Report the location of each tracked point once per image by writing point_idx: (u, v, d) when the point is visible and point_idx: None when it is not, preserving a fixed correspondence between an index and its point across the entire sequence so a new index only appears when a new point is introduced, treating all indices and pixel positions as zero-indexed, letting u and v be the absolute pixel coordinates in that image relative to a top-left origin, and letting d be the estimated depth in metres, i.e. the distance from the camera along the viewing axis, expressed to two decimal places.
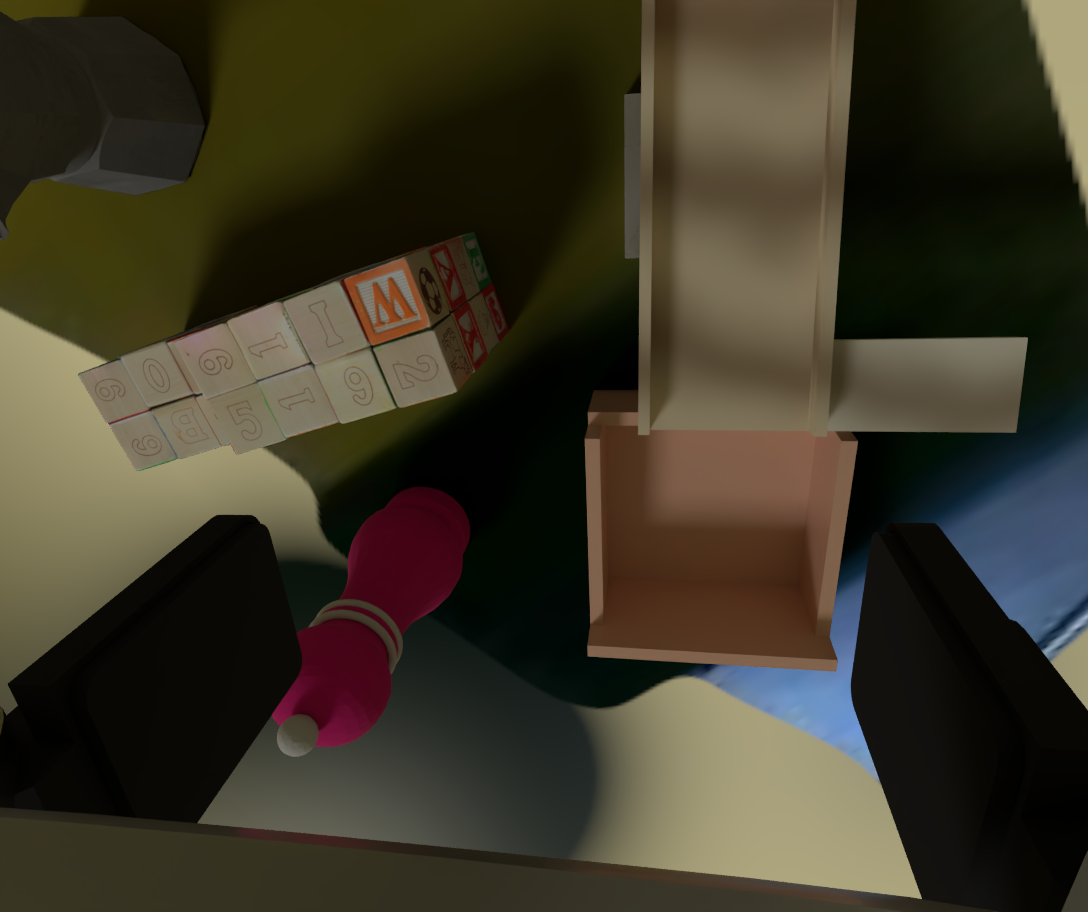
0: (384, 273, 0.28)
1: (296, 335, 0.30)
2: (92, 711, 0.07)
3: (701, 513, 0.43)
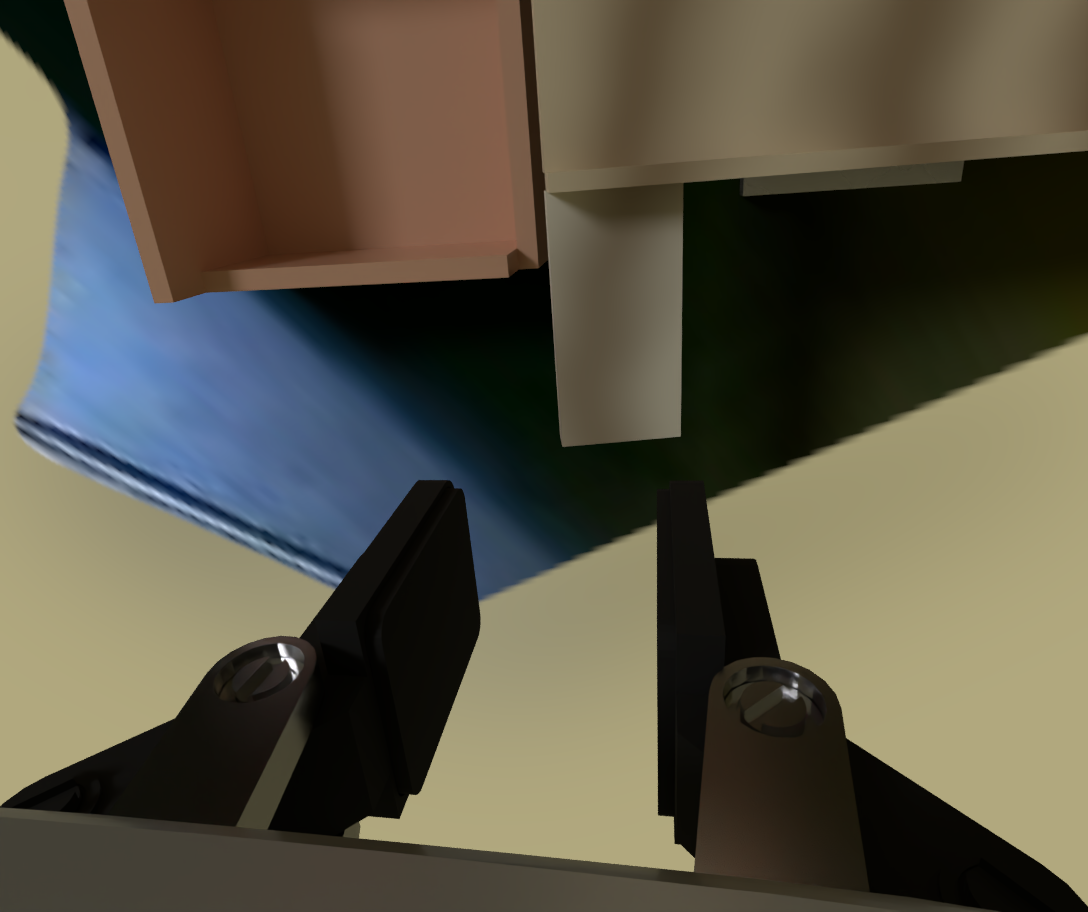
0: None
1: None
2: (381, 647, 0.08)
3: (346, 89, 0.28)
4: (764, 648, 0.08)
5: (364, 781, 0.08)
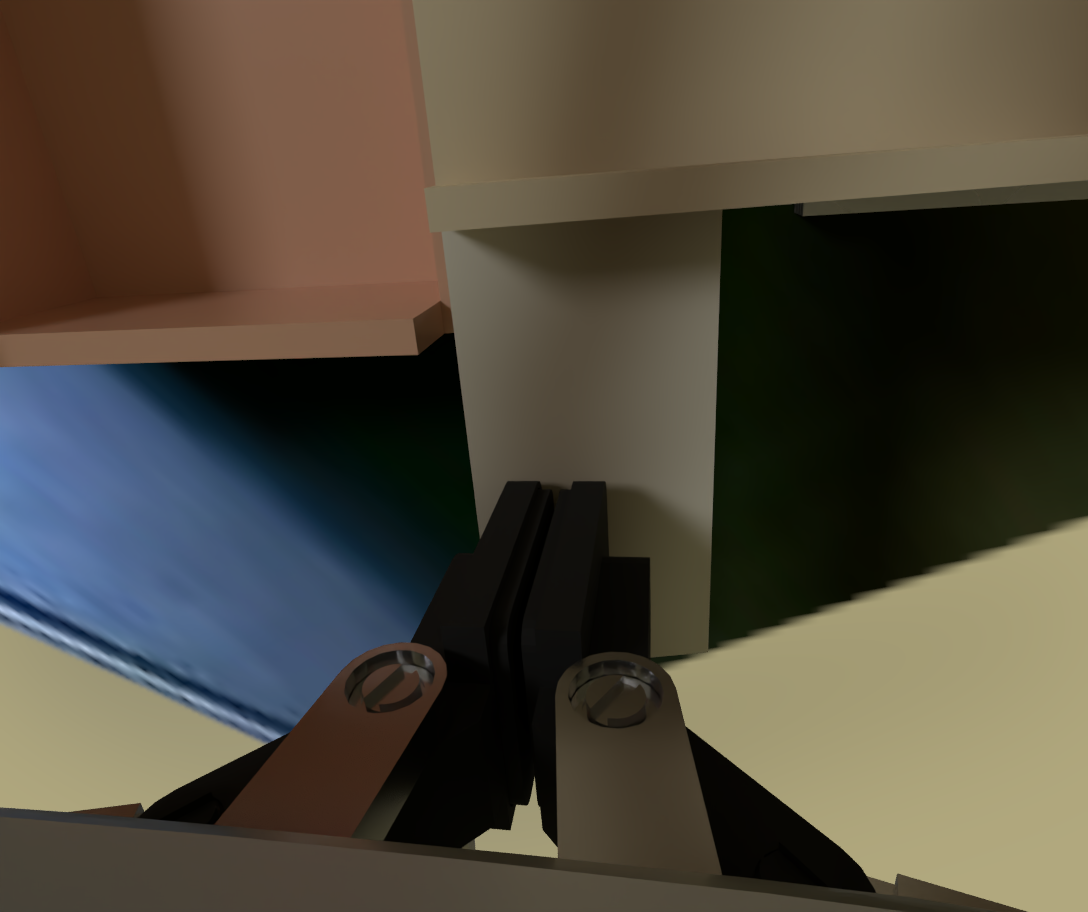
0: None
1: None
2: (505, 654, 0.08)
3: (183, 48, 0.18)
4: (633, 644, 0.08)
5: (488, 793, 0.08)
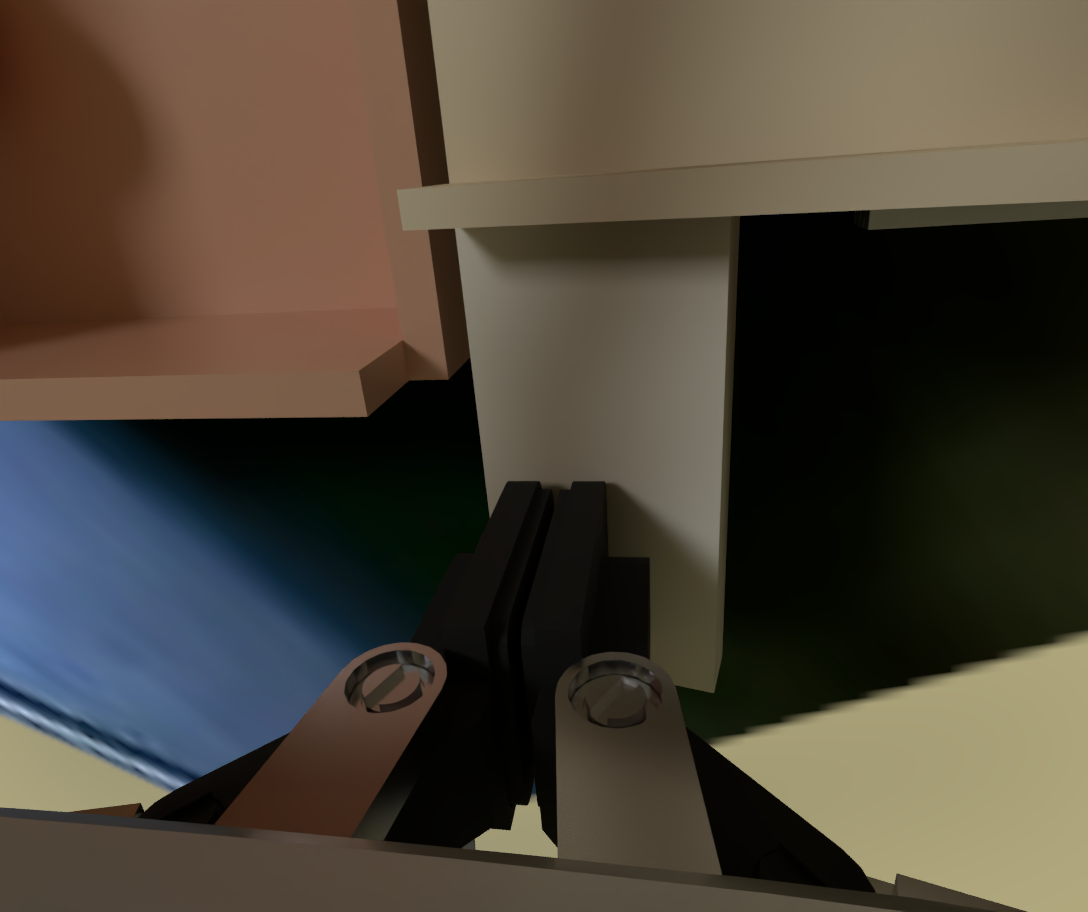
0: None
1: None
2: (505, 654, 0.08)
3: (87, 20, 0.14)
4: (633, 644, 0.08)
5: (488, 793, 0.08)
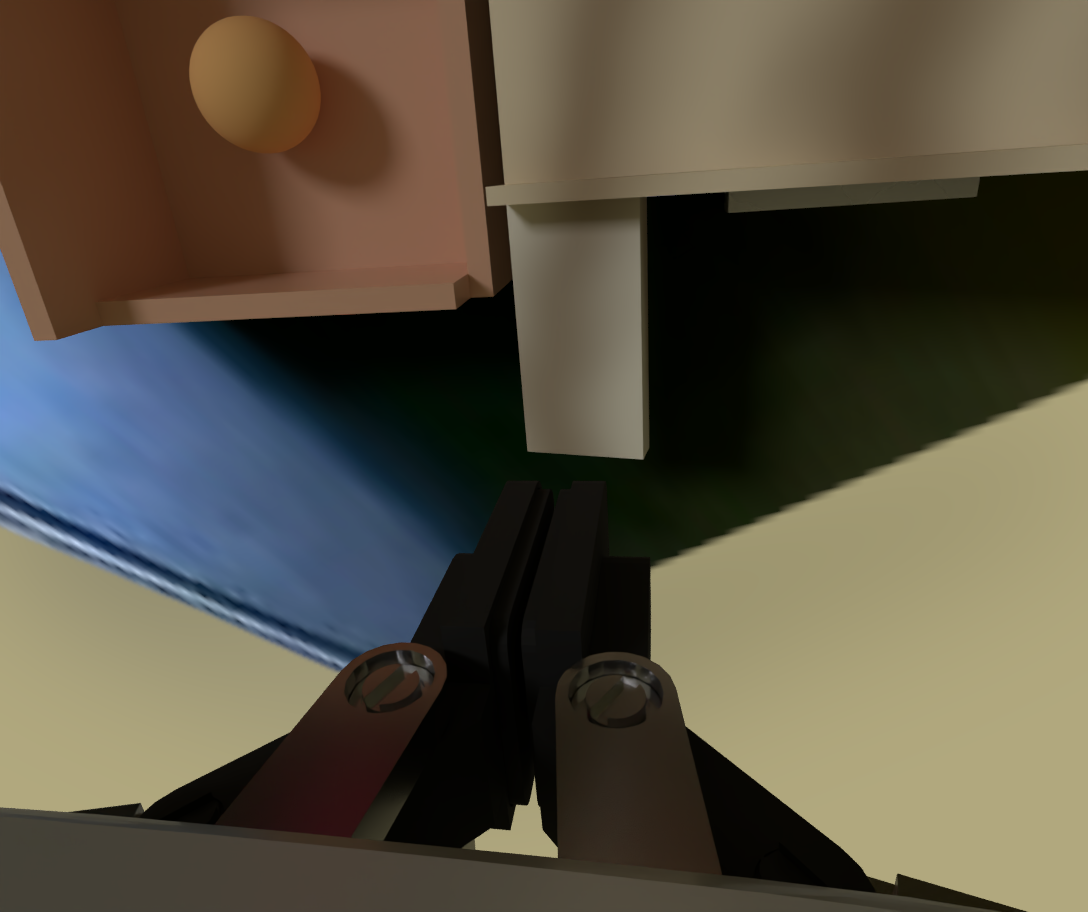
0: None
1: None
2: (504, 653, 0.08)
3: None
4: (633, 644, 0.08)
5: (488, 792, 0.08)
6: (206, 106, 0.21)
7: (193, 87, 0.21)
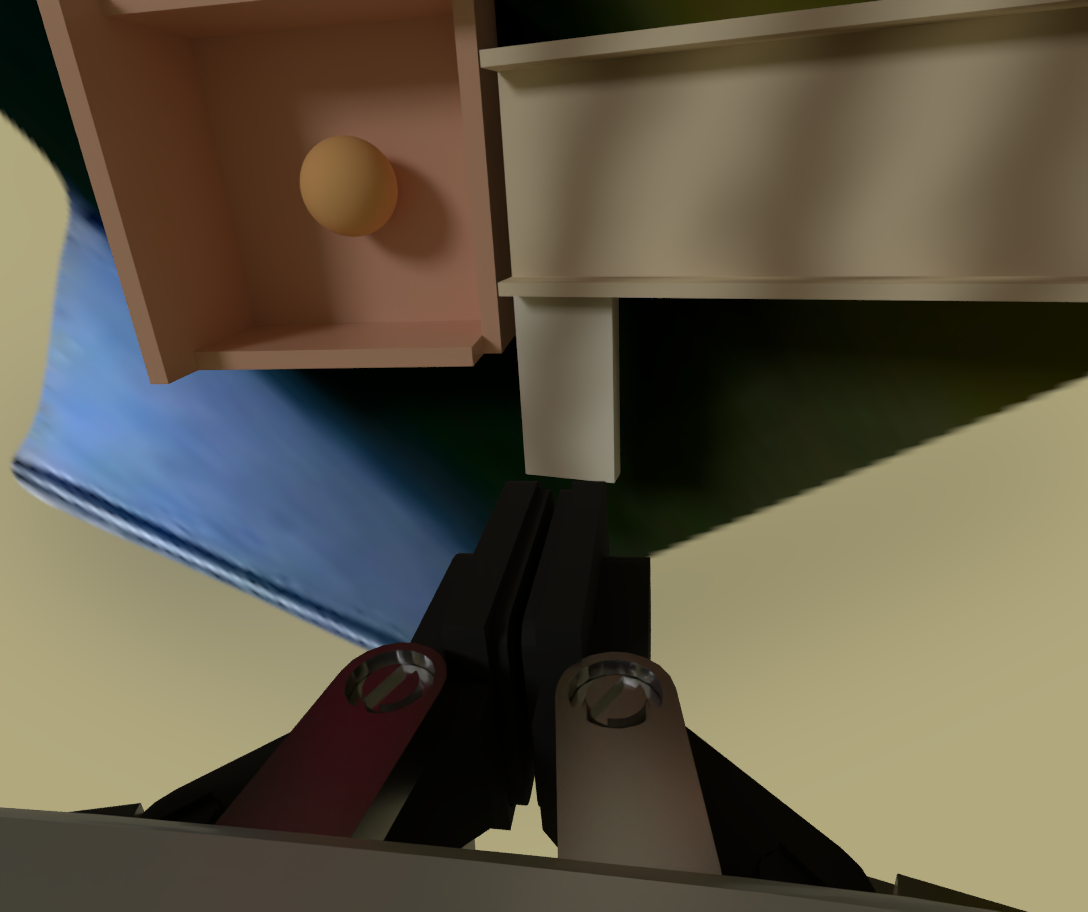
0: None
1: None
2: (505, 654, 0.08)
3: None
4: (633, 644, 0.08)
5: (488, 793, 0.08)
6: (337, 204, 0.27)
7: (324, 190, 0.27)
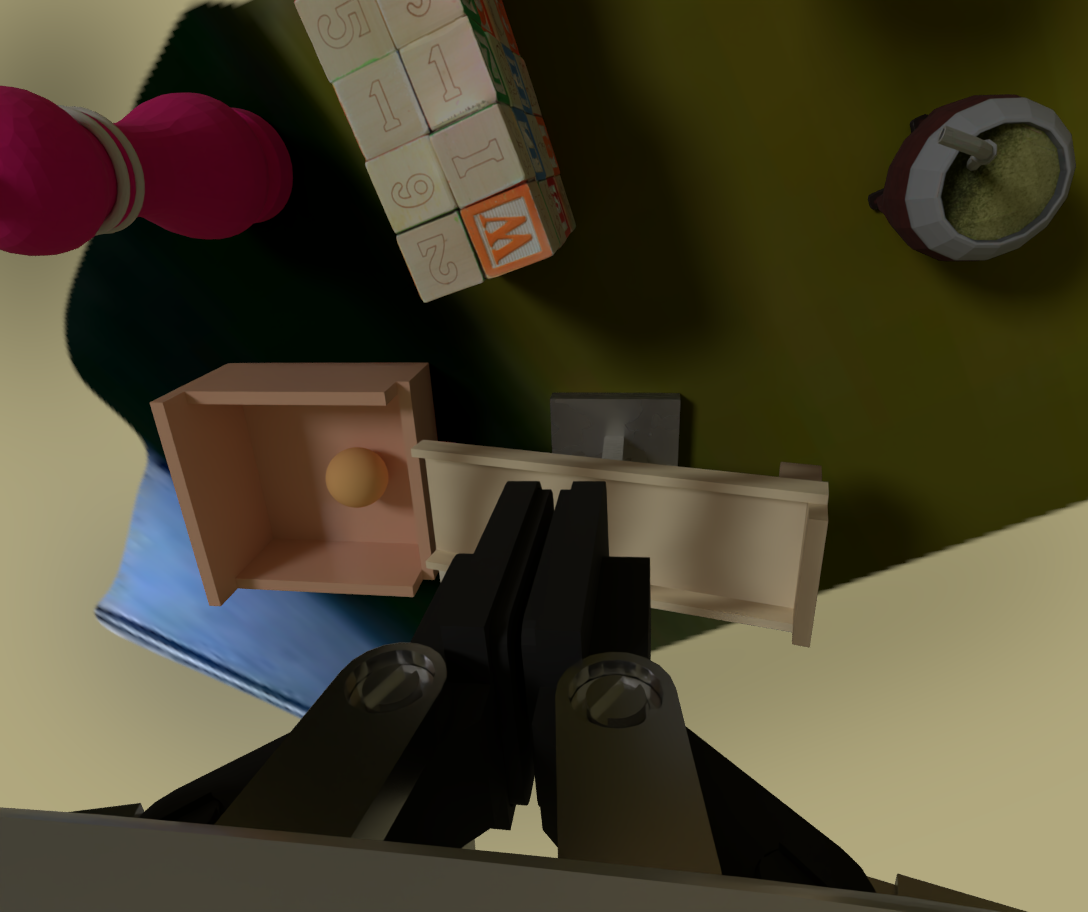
0: (536, 230, 0.28)
1: (460, 115, 0.26)
2: (505, 654, 0.08)
3: (323, 461, 0.47)
4: (634, 644, 0.08)
5: (488, 793, 0.08)
6: (371, 494, 0.43)
7: (363, 489, 0.43)
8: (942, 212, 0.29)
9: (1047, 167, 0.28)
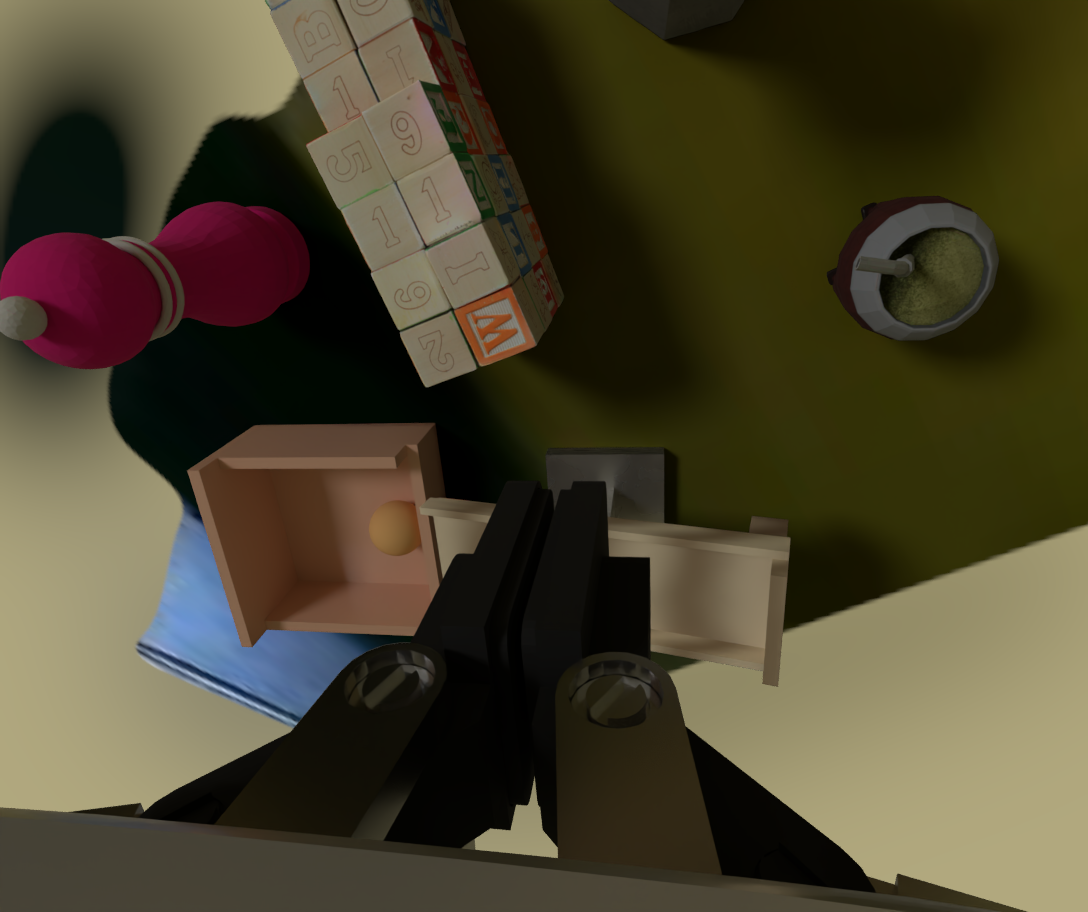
0: (520, 326, 0.32)
1: (450, 233, 0.30)
2: (505, 654, 0.08)
3: (342, 511, 0.51)
4: (634, 644, 0.08)
5: (488, 793, 0.08)
6: None
7: None
8: (881, 303, 0.33)
9: (972, 264, 0.32)
